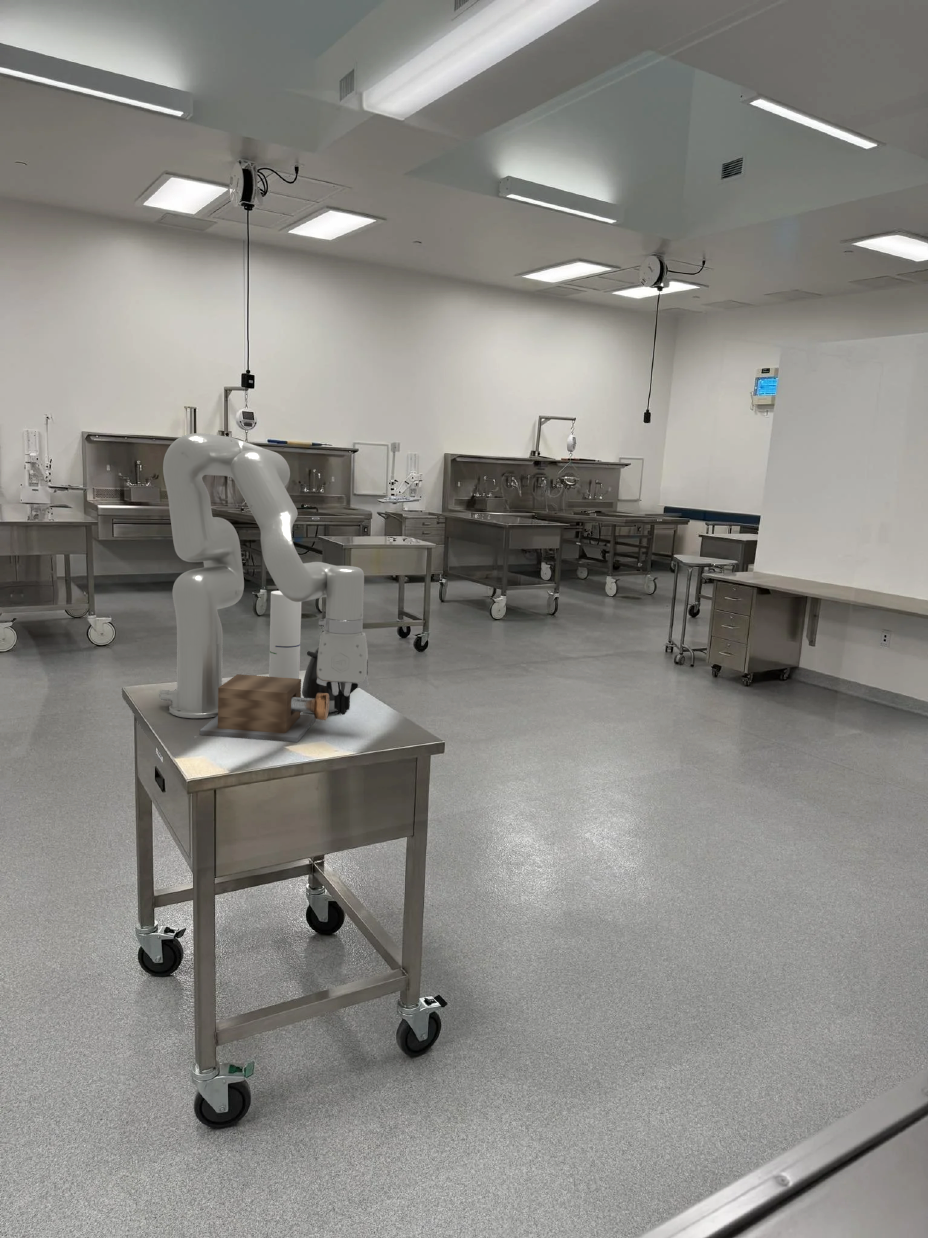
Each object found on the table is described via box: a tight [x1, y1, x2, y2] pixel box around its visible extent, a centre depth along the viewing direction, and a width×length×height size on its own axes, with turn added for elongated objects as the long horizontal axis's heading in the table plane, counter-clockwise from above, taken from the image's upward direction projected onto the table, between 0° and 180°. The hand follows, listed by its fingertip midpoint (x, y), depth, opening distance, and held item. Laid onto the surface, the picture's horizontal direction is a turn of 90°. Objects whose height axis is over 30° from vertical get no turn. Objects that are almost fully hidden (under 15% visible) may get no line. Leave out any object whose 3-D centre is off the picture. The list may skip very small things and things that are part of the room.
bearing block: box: [199, 673, 317, 743], centre depth 174 cm, size 20×16×10 cm
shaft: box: [291, 693, 330, 721], centre depth 174 cm, size 20×6×6 cm, turn 87°
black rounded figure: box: [301, 646, 346, 714], centre depth 189 cm, size 10×10×15 cm
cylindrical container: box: [268, 590, 302, 679], centre depth 199 cm, size 7×7×25 cm
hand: (341, 712), depth 174 cm, fingers closed
